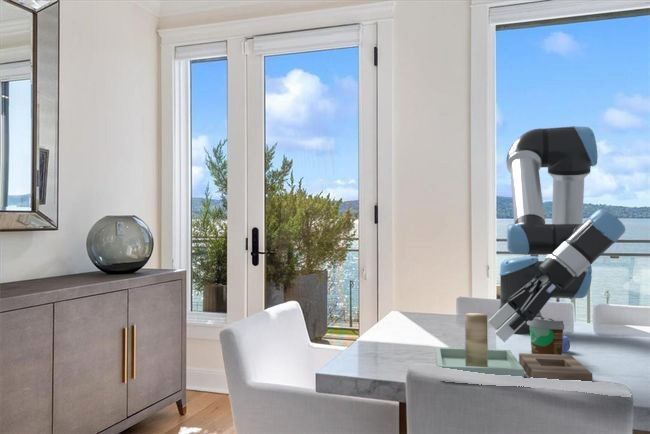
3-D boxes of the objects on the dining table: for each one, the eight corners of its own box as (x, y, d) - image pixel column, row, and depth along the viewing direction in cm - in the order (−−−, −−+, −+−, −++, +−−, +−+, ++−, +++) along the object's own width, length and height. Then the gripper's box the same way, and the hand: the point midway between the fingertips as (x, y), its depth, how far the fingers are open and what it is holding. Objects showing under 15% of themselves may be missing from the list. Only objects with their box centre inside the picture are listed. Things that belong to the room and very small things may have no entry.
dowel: (464, 362, 127) (464, 312, 127) (486, 363, 126) (485, 313, 126) (466, 368, 122) (466, 316, 122) (489, 369, 121) (488, 316, 121)
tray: (435, 359, 135) (435, 347, 135) (509, 362, 131) (509, 349, 131) (438, 379, 117) (438, 366, 117) (524, 383, 114) (524, 369, 114)
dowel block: (519, 363, 130) (519, 353, 130) (571, 365, 128) (571, 355, 128) (533, 382, 114) (532, 371, 114) (592, 385, 112) (592, 373, 112)
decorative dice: (548, 350, 143) (548, 335, 143) (556, 348, 145) (556, 334, 146) (562, 353, 140) (562, 338, 140) (570, 351, 142) (570, 336, 142)
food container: (518, 350, 144) (518, 313, 144) (540, 349, 144) (540, 313, 144) (541, 362, 131) (540, 321, 131) (564, 361, 132) (564, 321, 132)
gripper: (592, 285, 108) (516, 356, 110) (561, 273, 132) (500, 331, 135) (564, 259, 109) (489, 330, 112) (539, 251, 133) (478, 310, 136)
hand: (495, 331), depth 123 cm, fingers open, 13 cm apart
